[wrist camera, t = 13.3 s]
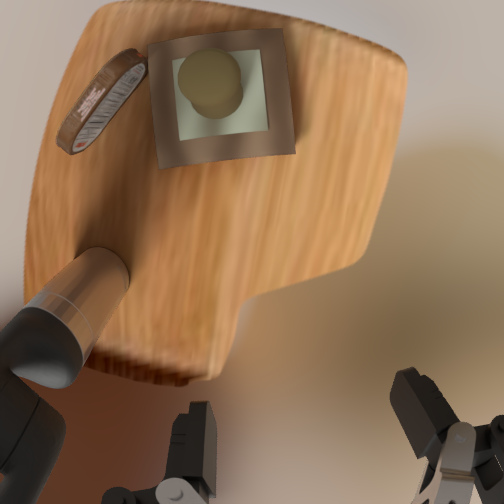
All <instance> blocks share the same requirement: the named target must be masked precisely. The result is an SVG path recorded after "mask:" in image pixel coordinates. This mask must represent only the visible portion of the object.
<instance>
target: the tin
mask: <svg viewBox="0 0 504 504" xmlns="http://www.w3.org/2000/svg"><path fill="white" fill-rule="evenodd" d="M147 70H148V60H147V59H146V58H145V57H144V56H142V55H141V54H140V53H138V51H137V50H136V49H133V48H130V49H126V50H124V51H122V52H120V53H118V54H117V55H116V56H114V57H113V58H112V59H110V60H109V61H108V62H107V63H106V64H105V65H104V66H103V67H102V69H101V70H100V71H99V72H98V73H97V75H96V76H95V77H94V79H93V80H92V81H91V82H90V84H89V85H88V86H87V88H86V89H85V90H84V92H83V93H82V94H81V96H80V97H79V98H78V100H77V101H76V103H75V104H74V106H73V107H72V108H71V110H70V111H69V113H68V114H67V116H66V117H65V119H64V120H63V122H62V124H61V125H60V127H59V130H58V132H57V136H56V144H57V146H59V147H61V148H62V149H63V150H64V151H65V152H66V153H68V154H69V155H74V154H77V153H80V152H82V151H84V150H85V149H86V148H87V147H88V146H89V145H90V144H91V143H93V141H94V140H95V139H96V138H97V137H98V136H99V135H100V133H101V132H102V131H103V129H104V128H105V127H106V125H107V124H108V123H109V121H110V120H111V119H112V118H113V116H114V115H115V114H116V112H117V111H118V110H119V109H120V107H121V106H122V105H123V104H124V102H125V101H126V100H127V99H128V98H129V96H130V95H131V94H132V93H133V92H134V90H135V89H136V88H137V87H138V85H139V84H140V83H141V81H142V80H143V78H144V76H145V75H146V73H147Z"/></svg>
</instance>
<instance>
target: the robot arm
mask: <svg viewBox="0 0 504 504" xmlns="http://www.w3.org/2000/svg"><path fill="white" fill-rule="evenodd" d="M128 286H129V275H128V271H127V268H126V266H125V265H124V263H123V261H122V260H121V259H120V258H119V257H118V256H117V255H116V254H115V253H114V252H112V251H110V250H108V249H105V248H102V247H93V248H89V249H87V250H86V251H84V252H83V253H82V254H81V255H80V256H78V257H77V258H76V259H74V260H73V261H72V262H70V263H69V264H68V265H67V266H66V267H65V268H64V269H63V270H61V271H60V272H59V273H58V274H57V275H56V276H55V277H54V278H53V279H52V280H50V281H49V282H48V283H47V284H46V285H45V286H44V288H43V289H42V290H41V291H40V292H39V293H38V294H37V295H36V296H35V297H34V298H33V299H32V300H31V301H30V302H29V303H28V304H27V305H26V306H25V307H24V308H23V309H22V310H21V311H20V312H19V313H18V314H17V315H16V316H15V317H14V318H13V319H12V320H11V321H10V322H9V323H8V324H7V325H6V326H5V327H4V328H3V329H2V331H1V332H0V472H1V473H2V474H3V475H4V479H3V481H2V482H1V483H0V504H36V502H37V500H38V497H39V495H40V493H41V491H42V489H43V487H44V485H45V483H46V481H47V479H48V477H49V475H50V473H51V471H52V469H53V467H54V465H55V463H56V461H57V459H58V456H59V453H60V451H61V448H62V446H63V442H64V438H65V434H66V423H65V420H64V418H63V417H62V415H61V414H60V413H59V412H58V411H57V410H55V409H54V408H53V407H52V406H50V405H49V404H48V403H47V402H46V401H45V400H44V399H42V398H41V397H39V395H38V394H37V393H35V392H34V391H33V390H32V389H31V388H30V387H29V386H27V385H26V384H25V383H24V382H23V381H22V380H21V379H20V378H19V377H18V376H20V377H24V378H27V379H30V380H31V381H34V382H36V383H38V384H41V385H43V386H46V387H50V388H65V387H67V386H69V385H71V383H73V382H74V380H75V379H76V377H77V375H78V374H79V372H80V370H81V368H82V366H83V365H84V363H85V361H86V359H87V357H88V356H89V354H90V352H91V350H92V348H93V346H94V345H95V343H96V341H97V340H98V338H99V336H100V334H101V333H102V331H103V329H104V328H105V326H106V324H107V323H108V321H109V319H110V318H111V316H112V314H113V313H114V311H115V309H116V308H117V306H118V305H119V303H120V301H121V300H122V298H123V297H124V295H125V293H126V292H127V290H128ZM390 402H391V405H392V407H393V409H394V411H395V413H396V415H397V417H398V419H399V421H400V423H401V426H402V427H403V429H404V431H405V434H406V436H407V438H408V440H409V442H410V444H411V446H412V448H413V450H414V453H415V455H416V457H417V459H419V458H422V457H424V456H426V457H427V459H428V460H427V462H426V465H425V468H424V471H423V475H422V478H421V481H420V484H419V487H418V490H417V493H416V495H415V498H414V499H413V501H412V502H411V504H469V503H470V498H471V495H472V490H473V485H474V484H475V486H476V489H477V491H478V494H479V496H480V498H481V501H482V504H504V415H499V416H496V417H495V418H494V419H493V420H492V422H491V423H490V424H487V425H482V426H476V427H473V426H472V425H471V424H469V423H467V422H461V421H460V420H459V419H458V418H457V416H456V415H455V413H454V411H453V410H452V408H451V407H450V405H449V404H448V402H447V401H446V399H445V398H444V397H443V395H442V393H441V392H440V391H439V389H438V387H437V386H436V384H435V383H434V381H433V380H431V379H430V378H429V377H427V376H426V375H422V376H420V374H419V373H418V371H417V370H416V369H415V368H414V367H410V368H407V369H404V370H400V371H398V372H397V373H396V375H395V379H394V382H393V385H392V388H391V392H390ZM171 434H172V436H171V439H170V446H169V453H168V459H167V466H166V473H165V477H164V479H163V480H162V481H161V483H160V484H158V485H157V486H155V487H153V488H150V489H145V490H139V491H133V492H131V491H129V490H128V489H126V488H123V487H113V488H111V489H109V490H107V491H106V492H105V493H104V495H103V497H102V502H101V504H209V498H216V459H217V458H216V457H217V425H216V421H215V418H214V415H213V411H212V408H211V405H210V402H209V401H191V402H190V406H189V414H179V415H178V417H177V418H176V420H175V421H174V423H173V426H172V433H171ZM495 456H496V457H495ZM496 458H497V459H496ZM497 460H498V461H497ZM498 462H499V463H498ZM499 464H500V465H499ZM500 466H501V467H500ZM501 468H502V469H501ZM502 470H503V471H502Z"/></svg>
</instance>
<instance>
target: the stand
mask: <svg viewBox="0 0 504 504" xmlns="http://www.w3.org/2000/svg"><path fill="white" fill-rule="evenodd" d="M204 48H216V49H221V50H223V51H225V52H227V53H229V54H231V55H232V56H233V57H234V58H235V60H236V61H237V62H238V64H239V67H240V69H241V81H240V83H241V85H242V88H243V99H242V102H241V105H240V106H239V107H238V109H237V110H236V111H235V112H234V113H232V114H231V115H230V116H228V117H225V118H222V119H209V118H205V117H203V116H202V115H200V114H198V113H197V112H196V111H195V109H194V108H193V107H192V104H191V102H190V101H189V100H188V99H187V98H186V97H185V96H184V95H183V94H182V93H181V91H180V88H179V86H178V72H179V69H180V66H181V64H182V63H183V61H184V60H185V59H186V57H188V56H189V55H190V54H192V53H193V52H195V51H198V50H200V49H204ZM147 52H148V69H149V84H150V96H151V107H152V117H153V127H154V136H155V144H156V152H157V160H158V167H159V170H160V169H166V168H172V167H179V166H185V165H192V164H200V163H207V162H215V161H223V160H232V159H241V158H251V157H262V156H274V155H288V154H296V151H295V139H294V127H293V116H292V106H291V96H290V87H289V78H288V69H287V61H286V53H285V45H284V37H283V30H282V29H251V30H237V31H226V32H217V33H209V34H202V35H195V36H189V37H183V38H178V39H172V40H168V41H163V42H158V43H154V44H149V45H147Z"/></svg>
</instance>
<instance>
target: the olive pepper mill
mask: <svg viewBox="0 0 504 504" xmlns="http://www.w3.org/2000/svg"><path fill="white" fill-rule="evenodd" d="M240 81H241V69H240V67H239V64H238V62H237V61H236V60H235V58H234V57H233V56H232V55H231V54H229V53H227V52H225V51H223V50H221V49H216V48H204V49H200V50H198V51H195V52H193V53H192V54H190V55H189V56H188V57H186V59H185V60H184V61H183V63H182V64H181V66H180V69H179V72H178V86H179V88H180V91H181V93H182V94H183V95H184V96H185V97H186V98H187V99H188V100H189V101H190V102H191V104H192V107H193V108H194V109H195V111H196V112H197V113H198V114H200V115H202V116H203V117H205V118H209V119H222V118H225V117H228V116H230V115H231V114H232V113H234V112H235V111H236V110H237V109H238V107H239V106H240V105H241V102H242V99H243V88H242V85H241V83H240Z"/></svg>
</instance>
